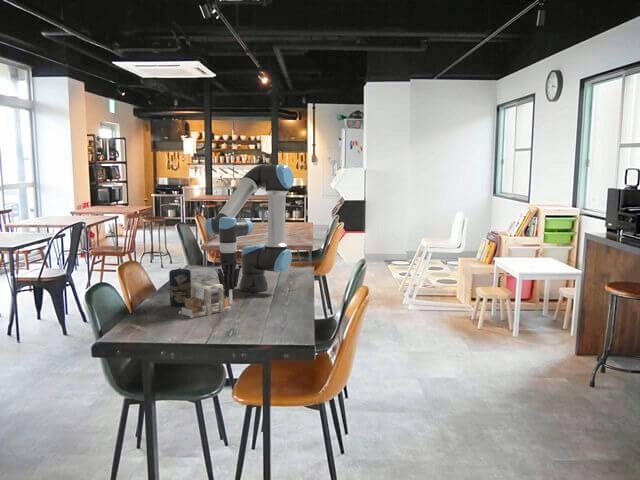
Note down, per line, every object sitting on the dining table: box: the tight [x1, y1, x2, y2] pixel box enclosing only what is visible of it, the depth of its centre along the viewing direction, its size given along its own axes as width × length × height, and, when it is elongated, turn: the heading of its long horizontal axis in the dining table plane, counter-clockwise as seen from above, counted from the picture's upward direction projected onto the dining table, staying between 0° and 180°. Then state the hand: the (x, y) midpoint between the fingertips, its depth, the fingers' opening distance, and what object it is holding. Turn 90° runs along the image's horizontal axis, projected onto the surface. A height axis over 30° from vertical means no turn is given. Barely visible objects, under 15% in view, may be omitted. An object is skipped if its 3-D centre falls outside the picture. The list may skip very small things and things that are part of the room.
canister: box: [168, 267, 192, 308], centre depth 259 cm, size 10×10×18 cm
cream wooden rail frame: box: [178, 280, 232, 319], centre depth 249 cm, size 26×12×13 cm, turn 136°
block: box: [184, 296, 202, 313], centre depth 243 cm, size 4×5×6 cm
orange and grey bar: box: [181, 297, 229, 317], centre depth 248 cm, size 21×7×4 cm, turn 136°
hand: (229, 303), depth 257 cm, fingers closed
